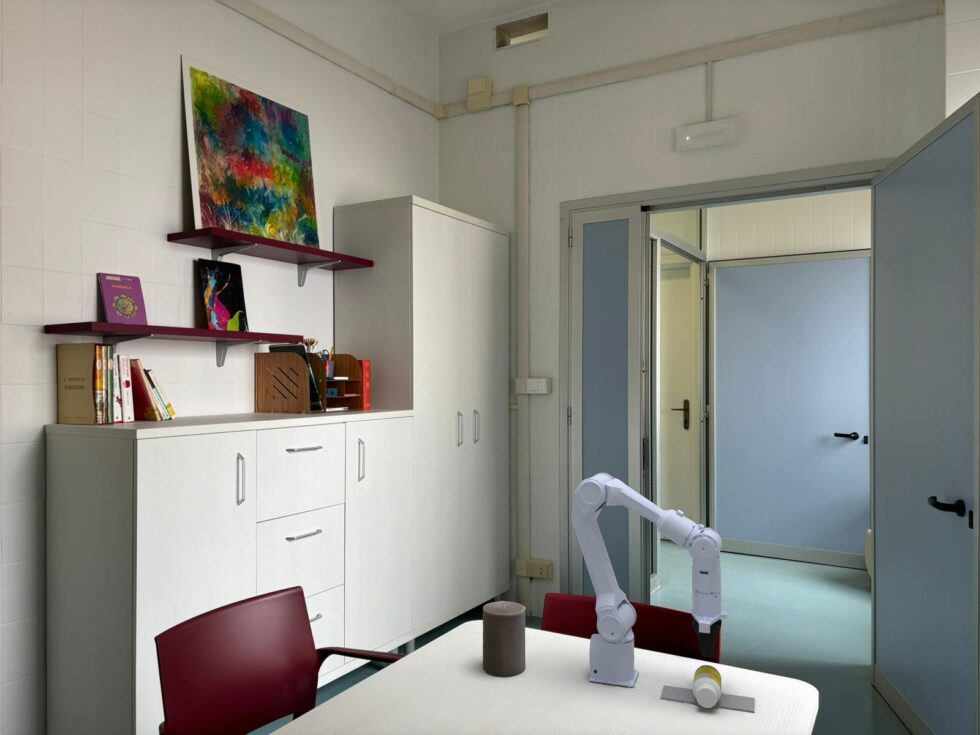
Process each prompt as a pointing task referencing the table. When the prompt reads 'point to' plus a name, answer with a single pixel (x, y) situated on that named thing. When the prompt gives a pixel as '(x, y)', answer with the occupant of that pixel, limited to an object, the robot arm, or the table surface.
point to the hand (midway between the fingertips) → (707, 655)
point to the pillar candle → (504, 639)
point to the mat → (724, 702)
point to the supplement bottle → (707, 686)
